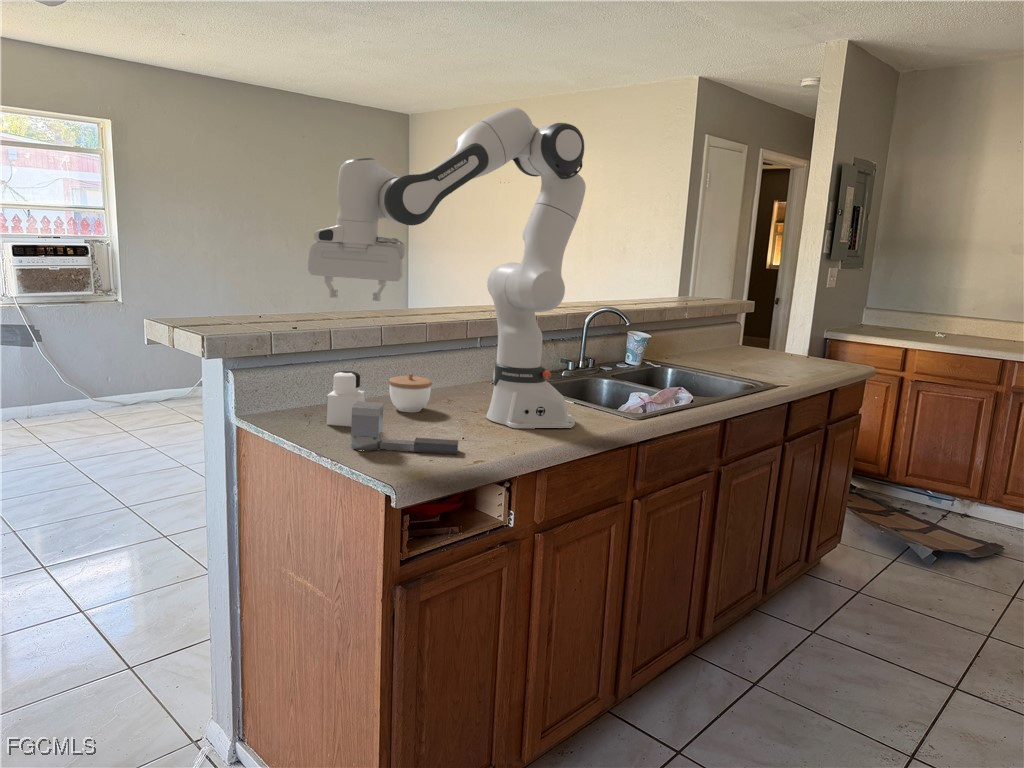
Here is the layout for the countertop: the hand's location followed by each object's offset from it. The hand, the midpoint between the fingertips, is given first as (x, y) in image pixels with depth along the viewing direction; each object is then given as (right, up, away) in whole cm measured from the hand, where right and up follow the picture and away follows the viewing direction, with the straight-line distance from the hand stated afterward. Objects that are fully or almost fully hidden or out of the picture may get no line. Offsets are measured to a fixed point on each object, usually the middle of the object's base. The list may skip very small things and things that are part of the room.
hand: (355, 299), depth 152 cm
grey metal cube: (+5, -29, -9) cm, 31 cm away
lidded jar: (+8, -26, +25) cm, 37 cm away
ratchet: (+12, -32, -8) cm, 36 cm away
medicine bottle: (-4, -28, +9) cm, 30 cm away
